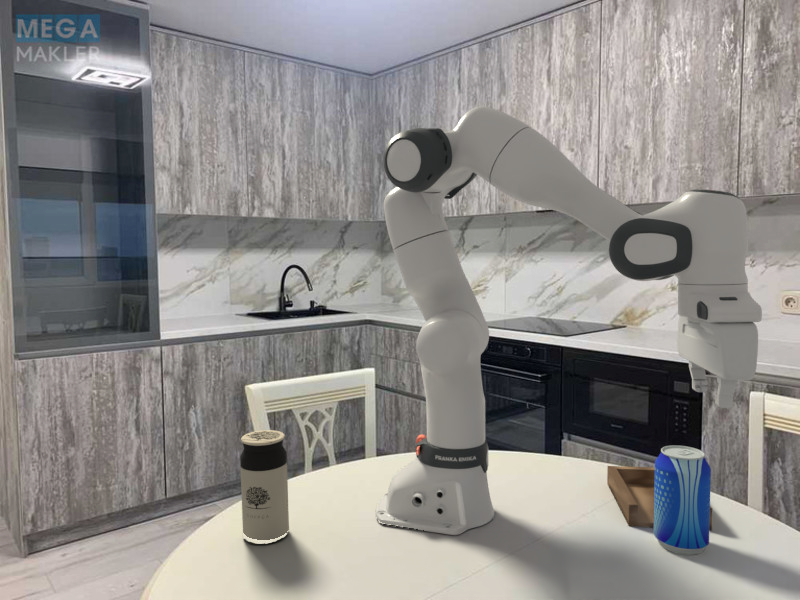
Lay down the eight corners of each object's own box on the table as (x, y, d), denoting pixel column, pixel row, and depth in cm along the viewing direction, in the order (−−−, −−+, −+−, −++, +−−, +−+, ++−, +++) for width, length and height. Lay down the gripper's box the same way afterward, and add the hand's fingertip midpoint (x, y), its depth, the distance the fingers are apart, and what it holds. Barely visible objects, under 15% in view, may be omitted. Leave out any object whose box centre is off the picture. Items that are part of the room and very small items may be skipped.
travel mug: (261, 522, 110) (257, 427, 109) (297, 529, 107) (294, 432, 106) (233, 541, 103) (229, 440, 102) (272, 549, 100) (268, 445, 99)
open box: (628, 526, 106) (629, 504, 106) (607, 484, 126) (607, 465, 125) (711, 530, 104) (712, 508, 104) (677, 487, 124) (677, 468, 123)
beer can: (715, 559, 95) (718, 461, 93) (659, 555, 96) (661, 459, 95) (700, 534, 103) (702, 444, 102) (648, 531, 104) (650, 442, 103)
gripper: (666, 298, 95) (666, 382, 97) (715, 310, 75) (714, 417, 76) (708, 297, 95) (707, 383, 96) (768, 309, 74) (767, 417, 75)
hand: (711, 398), depth 86 cm, fingers open, 8 cm apart
